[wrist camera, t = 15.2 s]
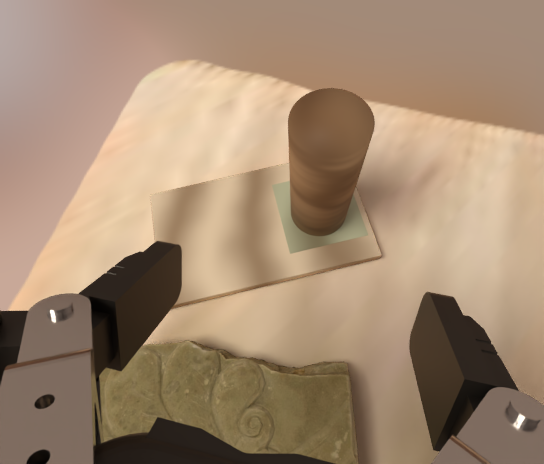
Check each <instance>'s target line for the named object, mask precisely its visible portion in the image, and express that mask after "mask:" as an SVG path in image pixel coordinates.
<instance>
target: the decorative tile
mask: <svg viewBox="0 0 544 464" xmlns="http://www.w3.org/2000/svg"><path fill="white" fill-rule="evenodd" d="M100 382H101V399H102V417H103V435H104V442H105V441H108V440H111V439H114V438H117V437H120V436H124V435H128V434H134V433H142V432H149V431H150V429H151V428H152V426H153V424H154V422H155V421H156V419H157V417H159V418H163V419H167V420H171V421H175V422H178V423H182V424H186V425H190V426H194V427H198V428H201V429H203V430H205V431H207V432H208V433H210V434H212V435H214V436H215V437H217V438H219V439H220V440H222V441H224V442H226V443H227V444H229V445H231V446H233V447H234V448H236V449H238V450H240V451H242V452H244V453H270V454H301V455H304V456H308V457H312V458H316V459H320V460H323V461H327V462H331V463H335V464H359V463H358V453H357V439H356V429H355V420H354V412H353V405H352V393H351V382H350V375H349V372H348V367H347V363H345V362H321V363H318V364H313V365H308V366H304V367H302V368H294V367H293V368H288V367H285V366H277V365H275V364H273V363H267V362H265V361H264V360H258V359H255V358H253V357H252V358H244V357H243V358H241V357H238V358H237V357H235V356H233V355H231V354H230V353H228V352H227V351H225V350H221V349H217V350H213V349H211V348H208V347H205V346H203V345H201V344H197V343H196V342H193V341H189V340H186V341H184V342H180V343H169V344H156V345H155V344H149V345H144V346H142V347H140V349H139V350H138V351H137V352H136V354H135V355H134V356H133V358H132V359H131V360H130V361H129V363H128V364H127V365H126V366H125V368H124V369H123V370H122V371H117V370H113V369H109V368H105V369H104V371H103V372H102V373H101V374H100Z"/></svg>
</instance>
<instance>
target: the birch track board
mask: <svg viewBox="0 0 544 464" xmlns="http://www.w3.org/2000/svg"><path fill="white" fill-rule="evenodd" d="M150 201H151V210H152V220H153V229H154V239H155V242H156V241H163V242H168V243H173V244H179V245H180V246H181V249H182V287H181V292H180V295H179V298H178V300H177V302H176V303H175V304H174V306H173V307H172V308H176V307H180V306H185V305H189V304H193V303H197V302H201V301H205V300H209V299H214V298H218V297H222V296H226V295H230V294H234V293H239V292H243V291H247V290H251V289H255V288H259V287H263V286H268V285H272V284H276V283H280V282H284V281H288V280H293V279H297V278H301V277H305V276H309V275H313V274H318V273H322V272H326V271H330V270H334V269H338V268H342V267H347V266H351V265H355V264H359V263H363V262H367V261H372V260H376V259H379V258H380V257H381V252H380V249H379V246H378V244H377V241H376V238H375V236H374V233H373V230H372V228H371V225H370V222H369V220H368V217H367V214H366V212H365V209H364V206H363V203H362V201H361V198H360V195H359V193H358V190H357V187H355V190H354V193H353V196H352V200H351V203H350V206H349V209H348V212H347V215H346V218H345V221H344V223H343V224H342V226H341V227H340V228H339V229H338V230H337V231H335V232H334V233H332V234H329V235H326V236H313V235H309V234H306V233H304V232H303V231H301V230H300V229H299V228H298V227H297V226H296V225H295V223H294V222H293V220H292V217H291V204H290V170H289V163H286V164H281V165H277V166H272V167H268V168H264V169H259V170H255V171H251V172H246V173H242V174H238V175H233V176H229V177H225V178H220V179H216V180H212V181H207V182H203V183H199V184H194V185H190V186H186V187H181V188H177V189H173V190H168V191H164V192H160V193H155V194H151V195H150ZM172 308H171V309H172Z"/></svg>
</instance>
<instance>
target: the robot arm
mask: <svg viewBox="0 0 544 464" xmlns="http://www.w3.org/2000/svg"><path fill="white" fill-rule="evenodd" d="M181 287H182V249H181V246H180V245H179V244H173V243H168V242H163V241H156V242H155V243H154V244H152V245H151V246H150V247H149V248H148V249H146V250H145V251H144V252H138V253H135V254H133V255H130V256H128V257H125V258H124V259H123V260H121V261H120V262H119V263H118V264H116V265H115V267H112V268H111V269H110V270H108V271H107V273H105V274H103V275H102V276H101V277H99V278H98V279H97V280H96V281H94V282H93V283H92V284H90V285H89V286H88V287H86V288H85V289H84V290H83V291H81V292H80V293H79V294H59V295H55V296H51V297H48V298H46V299H43V300H41V301H39V302H38V303H36V304H35V305H33V306H32V307H31V308H30V310H29V311H0V464H335V463H331V462H327V461H323V460H320V459H316V458H312V457H308V456H304V455H301V454H270V453H244V452H242V451H240V450H238V449H236V448H234V447H233V446H231V445H229V444H227V443H226V442H224V441H222V440H220V439H219V438H217V437H215V436H214V435H212V434H210V433H208V432H207V431H205V430H203V429H201V428H198V427H194V426H190V425H186V424H182V423H178V422H175V421H171V420H167V419H163V418H159V417H157V419H156V421H155V422H154V424H153V426H152V428H151V429H150V431H149V432H142V433H134V434H128V435H124V436H120V437H117V438H114V439H111V440H108V441H105V442H104V435H103V417H102V399H101V382H100V374H101V373H102V372H103V371H104V369H105V368H109V369H113V370H117V371H122V370H123V369H124V368H125V366H126V365H127V364H128V363H129V361H130V360H131V359H132V358H133V356H134V355H135V354H136V352H137V351H138V350H139V349H140V347H141V346H142V345H143V344H144V342H145V341H146V340H147V339H148V337H149V336H150V335H151V333H152V332H153V331H154V330H155V328H156V327H157V326H158V325H159V323H160V322H161V321H162V320H163V318H164V317H165V316H166V314H167V313H168V312H169V311H170V309H171V308H172V307H173V306H174V304H175V303H176V302H177V300H178V298H179V295H180V292H181ZM409 347H410V355H411V359H412V363H413V367H414V371H415V375H416V380H417V384H418V388H419V392H420V396H421V400H422V405H423V409H424V413H425V417H426V421H427V425H428V430H429V434H430V438H431V442H432V446H433V450H436V451H440V452H439V454H438V455H437V456H436V458H435V459H434V460H433V462H432V463H431V464H544V406H543V405H542V404H541V403H539V402H538V401H537V400H535V399H533V398H532V397H530V396H528V395H526V394H524V393H522V392H520V391H519V390H518V388H517V387H516V385H515V383H514V381H513V380H512V378H511V376H510V374H509V373H508V371H507V369H506V367H505V366H504V364H503V362H502V360H501V359H500V357H499V356H498V355H497V352H496V350H495V348H494V346H493V345H492V344H491V341H490V339H489V337H488V336H487V334H486V332H485V330H484V329H483V328H482V327H481V326H480V325H479V324H478V323H477V322H475V321H474V320H473V319H472V318H471V317H470V316H465V315H463V314H462V312H461V310H460V308H459V306H458V304H457V302H456V300H455V299H454V297H451V296H446V295H441V294H435V293H430V292H426V293H425V295H424V296H423V299H422V302H421V305H420V308H419V311H418V314H417V317H416V320H415V323H414V326H413V329H412V332H411V336H410V346H409Z"/></svg>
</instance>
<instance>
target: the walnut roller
mask: <svg viewBox="0 0 544 464" xmlns="http://www.w3.org/2000/svg"><path fill="white" fill-rule="evenodd" d="M374 125H375V121H374V116H373V113H372V111H371V109H370V107H369V106H368V104H367V103H366V102H365V101H364V100H363V99H362V98H360V97H359V96H357V95H356V94H353V93H352V92H349V91H346V90H342V89H334V88H328V89H320V90H316V91H313V92H310V93H308V94H306V95H305V96H303V97H302V98H300V99H299V100H298V101H297V102H296V103H295V104H294V106H293V107H292V109H291V111H290V114H289V118H288V135H289V170H290V204H291V217H292V220H293V222H294V223H295V225H296V226H297V227H298V228H299V229H300V230H301V231H303V232H304V233H306V234H309V235H313V236H326V235H329V234H332V233H334V232H335V231H337V230H338V229H339V228H340V227H341V226H342V224H343V223H344V221H345V218H346V215H347V212H348V209H349V206H350V203H351V200H352V196H353V193H354V190H355V187H356V184H357V181H358V178H359V175H360V171H361V168H362V165H363V162H364V159H365V156H366V153H367V150H368V147H369V143H370V140H371V137H372V134H373V131H374Z"/></svg>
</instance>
